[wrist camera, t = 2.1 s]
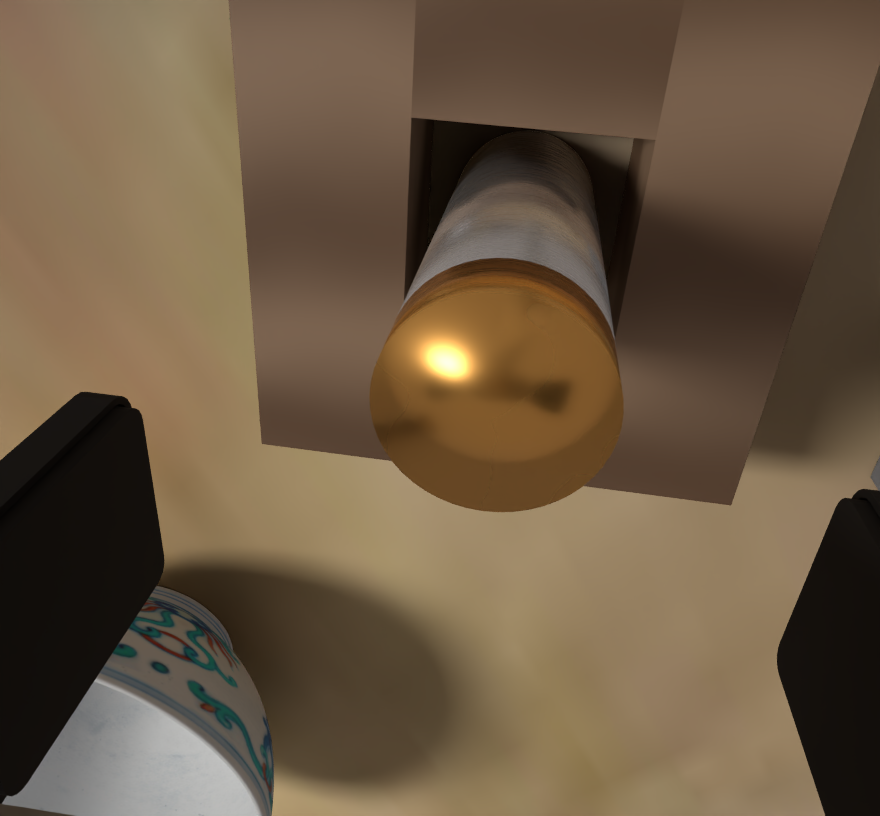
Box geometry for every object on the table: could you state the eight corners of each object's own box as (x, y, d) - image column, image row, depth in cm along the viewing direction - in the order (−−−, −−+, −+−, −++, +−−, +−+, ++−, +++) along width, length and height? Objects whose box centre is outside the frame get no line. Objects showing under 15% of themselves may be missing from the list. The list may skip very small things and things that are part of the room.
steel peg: (461, 124, 21) (370, 279, 11) (604, 137, 21) (647, 309, 11) (451, 259, 23) (367, 495, 13) (581, 273, 23) (599, 526, 13)
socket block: (280, -102, 19) (220, -115, 16) (853, -62, 18) (923, -68, 14) (300, 380, 26) (261, 443, 23) (707, 431, 25) (731, 505, 22)
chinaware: (-59, 582, 35) (-204, 729, 28) (161, 452, 29) (44, 598, 22) (164, 769, 40) (87, 928, 33) (387, 691, 34) (347, 865, 28)
